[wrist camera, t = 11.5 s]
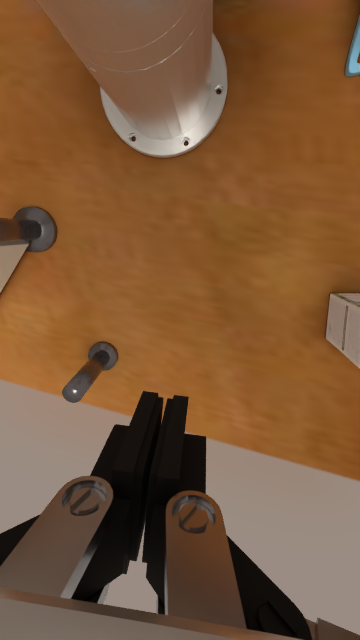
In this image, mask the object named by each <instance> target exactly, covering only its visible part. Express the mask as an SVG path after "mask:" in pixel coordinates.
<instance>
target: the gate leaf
mask: <svg viewBox="0 0 360 640" xmlns="http://www.w3.org/2000/svg"><path fill="white" fill-rule="evenodd" d="M28 245H29V244H28V243H27V242H26V241H24V240H22V241H6V242H0V293H1V291H2V289H3V287H4V286H5V284H6V282H7V281H8V279H9V277H10V276H11V274H12V272H13V270H14V269H15V267H16V265H17V264H18V262H19V260H20V258H21V257H22V255H23V253H24V252H25V250H26V248H27V246H28Z"/></svg>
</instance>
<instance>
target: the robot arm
mask: <svg viewBox="0 0 360 640" xmlns="http://www.w3.org/2000/svg"><path fill="white" fill-rule="evenodd" d="M35 1H36V2H37V3H38V5H39V6H40V7H41V8H42V10H43V11H44V12H45V13H46V15H47V16H48V17H49V19H50V20H51V21H52V22H53V24H54V25H55V26H56V28H57V29H58V30H59V31H60V33H61V34H62V36H63V37H64V39H65V40H66V41H67V43H68V44H69V45H70V47H71V48H72V49H73V51H74V52H75V53H76V55H77V56H78V57H79V59H80V60H81V61H82V63H83V64H84V65H85V66H86V68H87V69H88V70H89V72H90V73H91V74H92V76H93V77H94V78H95V80H96V81H97V82H98V84H99V85H100V94H101V99H102V105H103V108H104V111H105V113H106V116H107V119H108V120H109V122H110V124H111V126H112V127H113V129H114V130H115V132H116V133H117V134H118V135H119V137H120V138H121V139H122V140H123V141H124V142H125V143H126V144H127V145H129V146H130V147H132V148H133V149H135V150H136V151H137V152H140V153H142V154H145V155H147V156H151V157H156V158H172V157H176V156H180V155H183V154H185V153H187V152H190V151H192V150H193V149H195V148H196V147H197V146H199V145H200V144H201V143H202V142H203V141H204V140H205V139H206V138H207V137H208V136H209V135H210V134H211V132H212V131H213V129H214V128H215V126H216V125H217V123H218V121H219V118H220V116H221V114H222V111H223V108H224V104H225V100H226V95H227V67H226V62H225V57H224V54H223V51H222V49H221V46H220V43H219V42H218V40H217V38H216V37H215V35H214V33H213V0H35ZM218 90H219V91H221V94H219V95H218V94H216V92H217V91H218ZM133 137H136V141H135V142H133V141H132V138H133ZM186 141H187V142H188V143H189V144H188V146H184V142H186ZM187 406H188V397H185V396H177V395H174V397H173V399H169V398H168V399H167V403H166V407H165V411H164V416H163V420H162V409H163V398H162V397H158V393H154V392H146V391H143V393H142V395H141V398H140V400H139V403H138V405H137V408H136V410H135V413H134V415H133V418H132V420H131V423H130V425H129V426H124V425H117V424H116V425H115V426H114V427H113V429H112V431H111V433H110V435H109V438H108V439H107V441H106V444H105V446H104V448H103V450H102V452H101V454H100V456H99V458H98V461H97V462H96V464H95V467H94V469H93V471H92V473H91V475H90V476H82V477H79V478H76V479H73V480H71V481H70V482H68V483H66V484H65V485H64V486H63V487H62V488H61V489H60V490H59V491H58V493H57V494H56V495H55V497H54V498H53V499H52V500H51V502H50V503H49V504H48V506H47V507H46V508H45V510H44V511H43V512H42V513H41V514H40V515H38V516H36V517H34V518H32V519H30V520H28V521H26V522H24V523H22V524H20V525H17V526H15V527H13V528H12V529H9V530H7V531H5V532H3V533H1V534H0V640H360V635H358V634H356V633H353V632H351V631H348V630H346V629H344V628H341V627H339V626H336V625H334V624H332V623H329V622H327V621H324V620H322V619H320V618H317V621H316V623H315V622H312V621H310V620H308V619H305V618H304V616H303V614H302V613H301V612H300V610H299V609H298V608H297V607H296V605H295V604H294V603H293V602H292V601H291V600H290V599H289V598H288V597H287V596H286V595H285V594H284V593H283V592H282V591H281V590H280V589H279V588H278V587H277V586H276V585H275V584H274V583H273V582H272V581H271V580H270V579H269V578H268V577H267V576H266V575H265V574H264V573H263V572H262V571H261V569H259V568H258V566H257V565H256V564H255V563H254V562H253V561H252V560H251V559H250V558H249V557H248V556H247V555H246V554H245V553H244V552H243V551H242V550H241V549H240V548H239V547H238V546H237V545H236V544H235V543H234V542H233V541H232V540H231V539H230V538H229V537H228V536H227V535H226V531H225V526H224V521H223V517H222V513H221V510H220V508H219V506H218V504H217V503H216V502H215V501H214V500H213V499H212V498H211V497H209V496H208V495H206V491H205V490H206V436H199V435H191V434H184V432H185V424H186V415H187ZM161 420H162V424H161ZM144 525H145V532H144V545H143V557H142V562H144V563H147V573H146V578H147V580H148V581H149V583H150V584H151V586H152V587H153V589H154V590H155V592H156V594H157V602H156V613H150V612H145V611H139V610H133V609H127V608H121V607H115V606H109V605H103V603H104V601H105V598H106V596H107V592H108V589H109V583H110V582H111V581H113V580H114V579H115V578H117V577H118V576H120V575H121V574H127V570H128V566H129V561H130V560H132V561H137V557H138V553H139V548H140V543H141V539H142V533H143V529H144Z"/></svg>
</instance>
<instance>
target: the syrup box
mask: <svg viewBox="0 0 360 640" xmlns="http://www.w3.org/2000/svg"><path fill="white" fill-rule="evenodd" d="M326 339H327V340H328V341H329V342H330V343H332V344H333V345H334V346H335V347H336V348H337V349H338V350H339V351H341V352H342V353H343V354H344V355H345V356H346V357H347V358H348V359H350V360H351V361H352V362H353V363H354V364H355V365H356V366H357V367H358V368H359V369H360V293H331V294H330V302H329V310H328V320H327V330H326Z"/></svg>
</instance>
